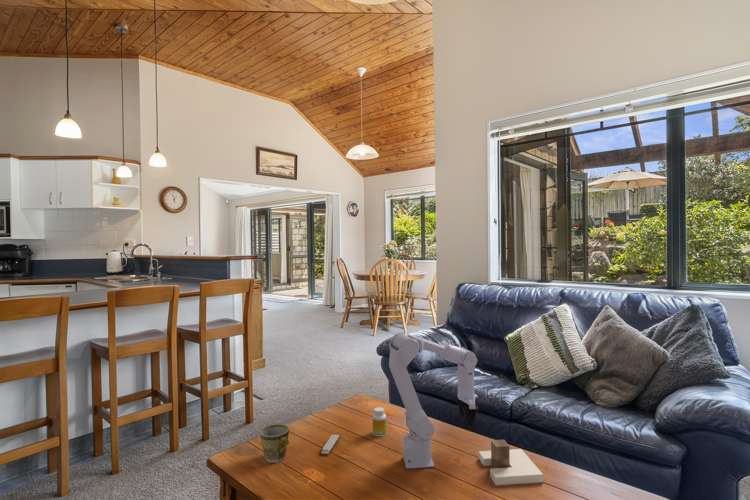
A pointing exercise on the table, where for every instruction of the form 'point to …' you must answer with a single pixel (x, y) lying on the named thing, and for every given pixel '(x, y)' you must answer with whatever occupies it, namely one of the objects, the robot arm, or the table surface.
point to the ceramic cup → (274, 442)
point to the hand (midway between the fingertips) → (466, 421)
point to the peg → (500, 454)
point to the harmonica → (329, 445)
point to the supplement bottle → (379, 422)
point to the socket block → (513, 469)
